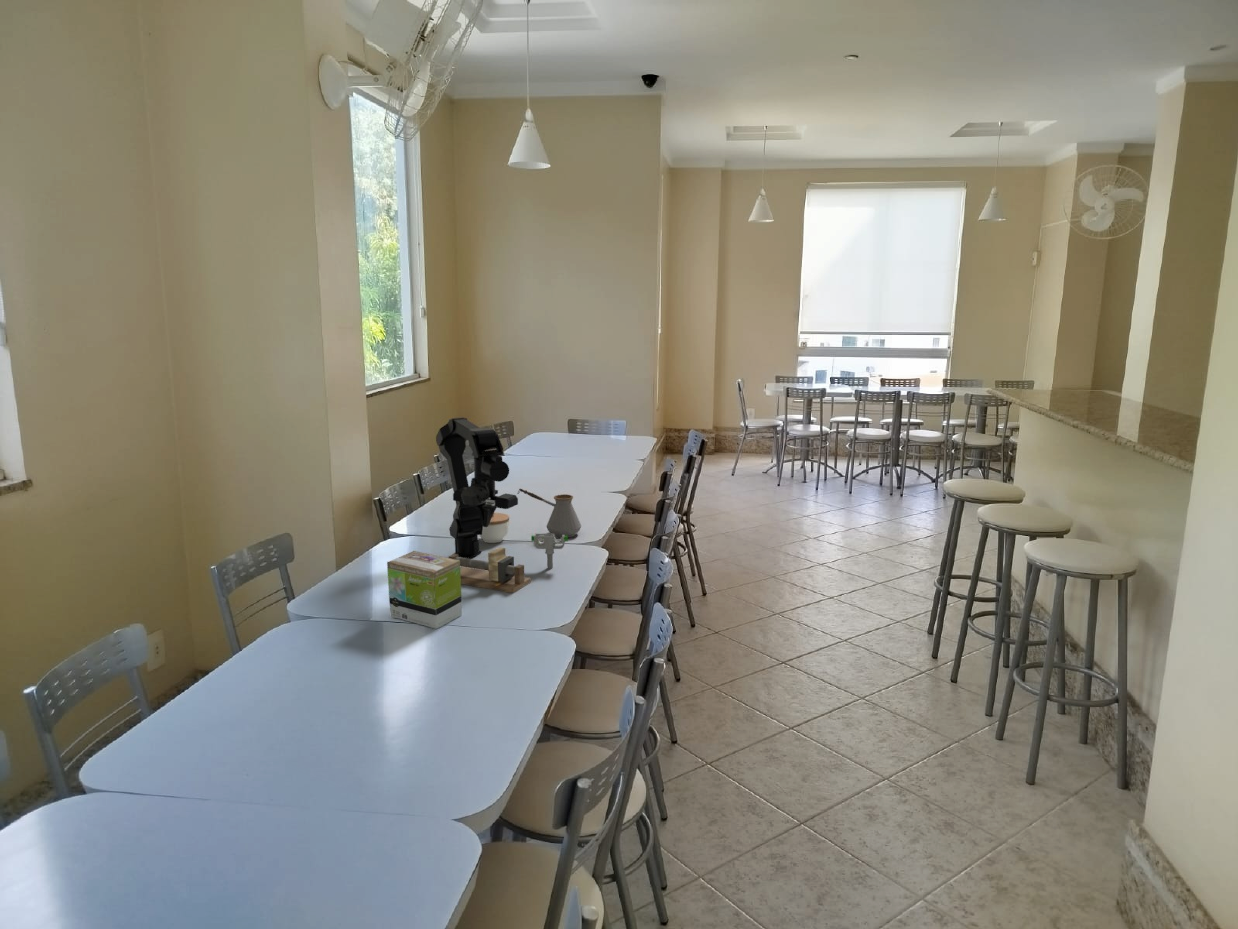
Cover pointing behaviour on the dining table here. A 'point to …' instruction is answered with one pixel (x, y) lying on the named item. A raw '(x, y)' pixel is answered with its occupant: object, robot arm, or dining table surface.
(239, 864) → the dining table surface
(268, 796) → the dining table surface
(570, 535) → the coffee pot
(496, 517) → the lidded jar
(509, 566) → the pipe stand
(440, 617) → the tea box
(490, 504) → the robot arm
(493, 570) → the sleeve
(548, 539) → the mechanical component
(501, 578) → the gray slab
